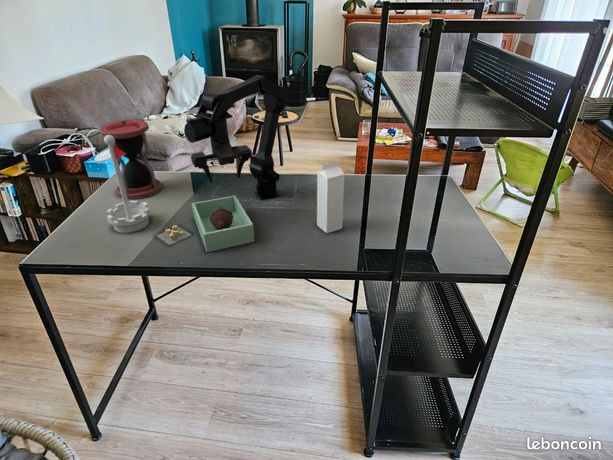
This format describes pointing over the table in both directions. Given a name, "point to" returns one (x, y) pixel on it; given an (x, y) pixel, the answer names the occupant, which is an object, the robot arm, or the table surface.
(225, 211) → the icecream
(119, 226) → the flag stand
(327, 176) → the milk
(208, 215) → the green open box
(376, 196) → the table surface
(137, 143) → the hourglass
